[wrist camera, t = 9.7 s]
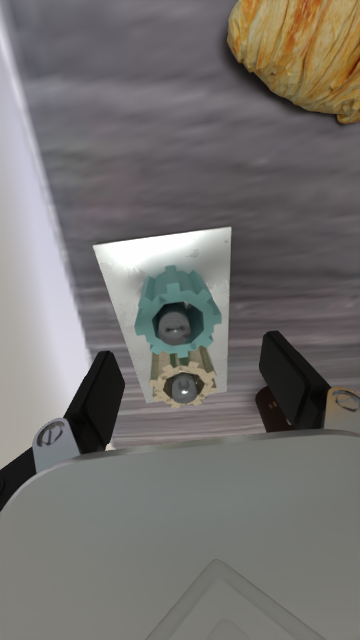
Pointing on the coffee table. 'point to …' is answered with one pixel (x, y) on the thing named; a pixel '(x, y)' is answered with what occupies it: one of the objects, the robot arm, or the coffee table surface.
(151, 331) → the gear
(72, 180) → the coffee table surface
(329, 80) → the croissant
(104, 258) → the board
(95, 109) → the coffee table surface
